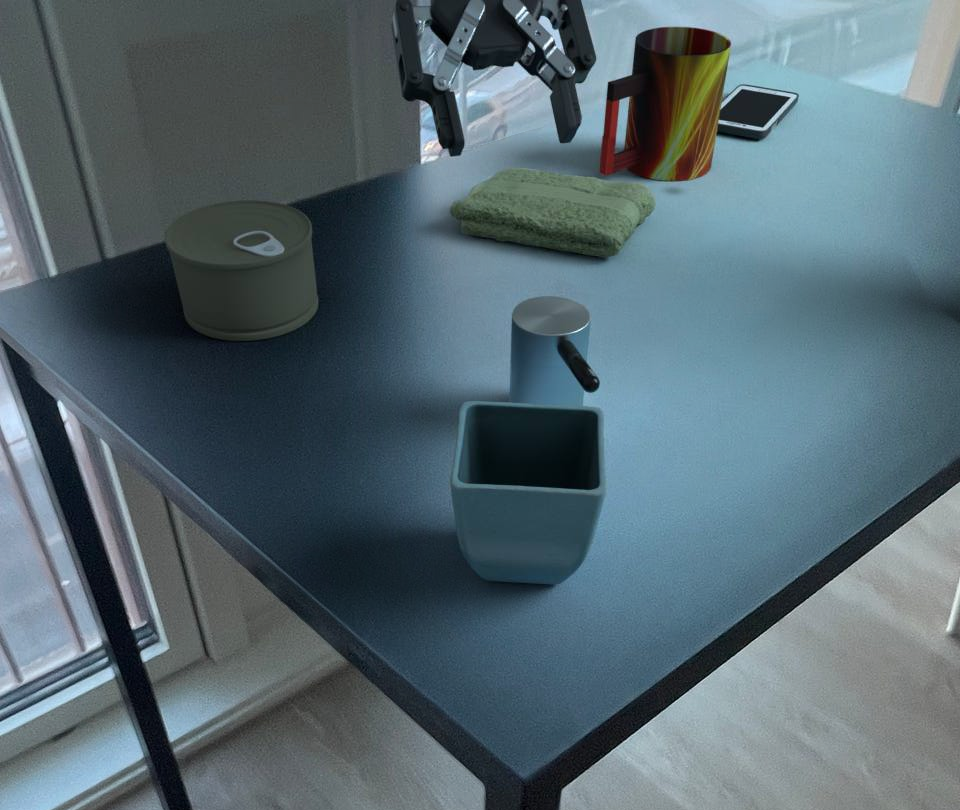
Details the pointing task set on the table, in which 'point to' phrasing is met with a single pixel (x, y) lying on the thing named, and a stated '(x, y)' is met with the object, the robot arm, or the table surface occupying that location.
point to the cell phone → (754, 110)
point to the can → (244, 269)
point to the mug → (668, 105)
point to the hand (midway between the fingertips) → (514, 144)
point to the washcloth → (555, 211)
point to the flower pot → (527, 488)
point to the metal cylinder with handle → (550, 352)
